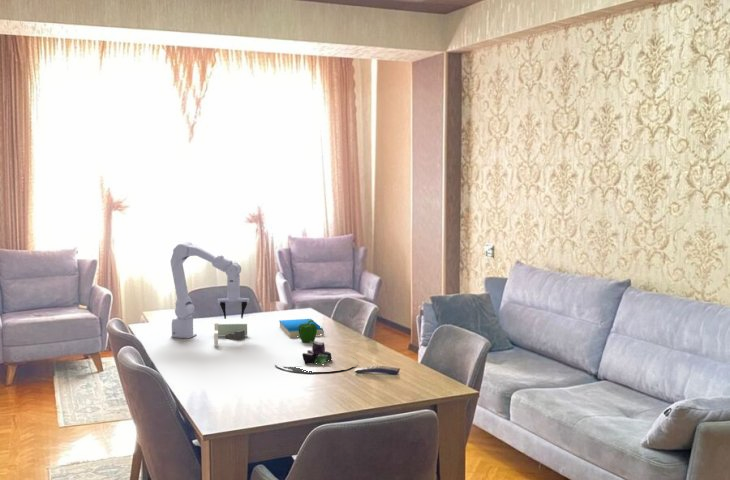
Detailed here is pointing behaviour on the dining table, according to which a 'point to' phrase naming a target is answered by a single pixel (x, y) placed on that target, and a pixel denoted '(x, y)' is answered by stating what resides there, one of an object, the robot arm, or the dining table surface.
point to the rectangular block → (216, 334)
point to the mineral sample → (312, 357)
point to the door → (230, 328)
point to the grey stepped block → (236, 335)
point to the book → (297, 326)
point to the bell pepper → (307, 331)
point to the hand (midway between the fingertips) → (233, 318)
